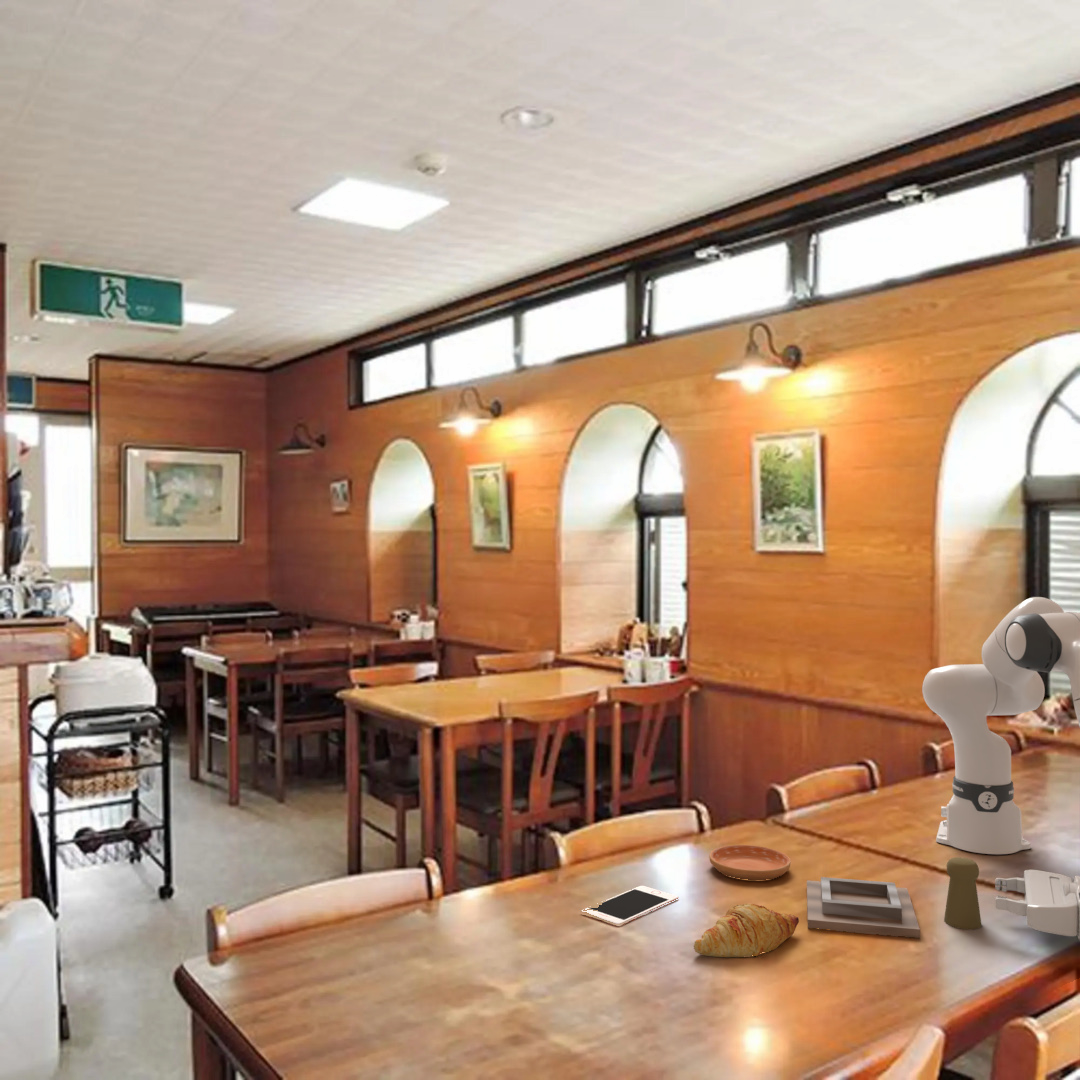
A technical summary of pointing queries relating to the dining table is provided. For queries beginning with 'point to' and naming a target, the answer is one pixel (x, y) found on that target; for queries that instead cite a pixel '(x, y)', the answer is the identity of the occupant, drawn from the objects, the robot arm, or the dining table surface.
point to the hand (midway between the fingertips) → (995, 892)
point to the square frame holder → (861, 907)
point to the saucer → (749, 862)
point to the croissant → (746, 932)
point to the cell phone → (631, 904)
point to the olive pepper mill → (962, 894)
